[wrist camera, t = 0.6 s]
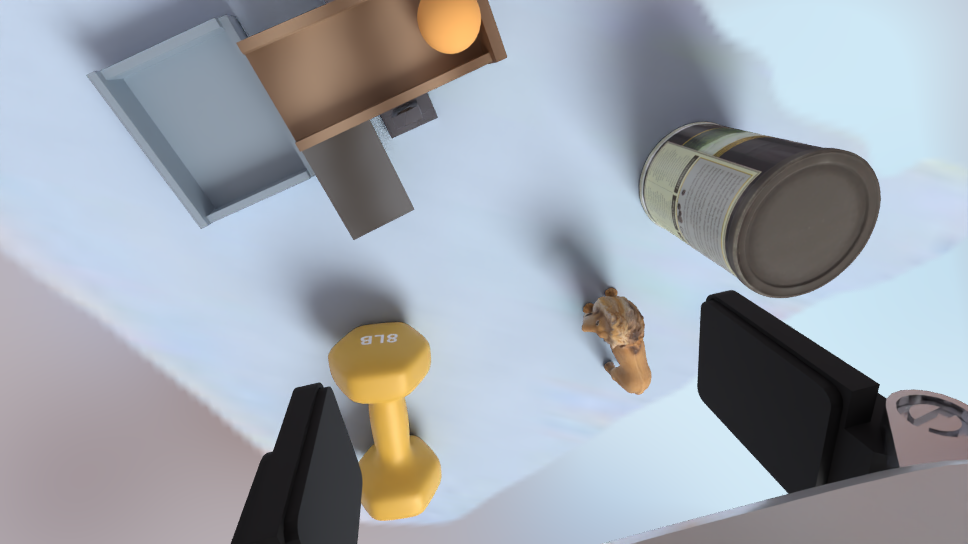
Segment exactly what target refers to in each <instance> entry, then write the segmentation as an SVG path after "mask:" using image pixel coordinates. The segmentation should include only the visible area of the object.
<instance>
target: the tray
mask: <svg viewBox="0 0 968 544" xmlns="http://www.w3.org/2000/svg"><path fill="white" fill-rule="evenodd" d="M246 38H248V37H247V35H246V34H245V32H244V30H243V29H242V27H241V25H240V23H239V22H238V20H237V18H236V17H234V16H230V15H224V16H222V17H220V18H213V19H210V20H208V21H206V22H204V23H202V24H200V25H198V26H195V27H193V28H191V29H189V30H187V31H185V32H183V33H180V34H178V35H176V36H174V37H172V38H170V39H168V40H165V41H163V42H161V43H159V44H157V45H155V46H153V47H150V48H148V49H146V50H144V51H142V52H140V53H137V54H135V55H133V56H131V57H129V58H127V59H125V60H122V61H120V62H118V63H116V64H114V65H112V66H110V67H107V68H105V69H103V70H101V71H94V72H92V73H90V74H88V75H86V76H87V77H88V78H89V80H90V81H91V82H92V84H93V85H94V86H95V88H96V89H97V90H98V92H99V93H100V94H101V96H102V97H103V98H104V100H105V101H106V102H107V104H108V105H109V106H110V108H111V109H112V110H113V112H114V113H115V114H116V116H117V117H118V118H119V120H120V121H121V122H122V124H123V125H124V126H125V128H126V129H127V130H128V132H129V133H130V134H131V136H132V137H133V139H134V140H135V141H136V143H137V144H138V145H139V147H140V148H141V149H142V151H143V152H144V153H145V155H146V156H147V157H148V159H149V160H150V161H151V163H152V164H153V165H154V167H155V168H156V169H157V171H158V172H159V173H160V175H161V176H162V177H163V179H164V180H165V181H166V183H167V184H168V185H169V187H170V188H171V189H172V191H173V192H174V193H175V195H176V196H177V197H178V199H179V200H180V201H181V203H182V204H183V205H184V207H185V208H186V209H187V211H188V212H189V213H190V215H191V216H192V217H193V219H194V220H195V221H196V223H197V224H198V226H199V227H200V228H201V229H202V228H204V227H206V226H208V225H210V224H211V223H213V222H215V221H217V220H219V219H222V218H224V217H226V216H228V215H230V214H233V213H235V212H237V211H239V210H242V209H244V208H246V207H248V206H250V205H253V204H255V203H257V202H259V201H261V200H264V199H266V198H268V197H270V196H273V195H275V194H277V193H279V192H281V191H284V190H286V189H288V188H290V187H293V186H295V185H297V184H299V183H301V182H304V181H306V180H308V179H310V178H311V177H312V176H314V175H315V173H314V172H313V170H312V168H311V166H310V165H309V163H308V161H307V160H306V158H305V156H304V154H303V153H302V151H301V152H300V151H299V149H298V148H297V146H296V144H295V142H296V141H295V139H294V137H293V136H292V134H291V132H290V131H289V129H288V127H287V125H286V124H285V122H284V120H283V119H282V117H281V115H280V114H279V112H278V110H277V108H276V107H275V105H274V103H273V102H272V100H271V98H270V96H269V95H268V93H267V91H266V90H265V88H264V86H263V84H262V83H261V81H260V79H259V78H258V76H257V74H256V73H255V71H254V69H253V67H252V66H251V64H250V62H249V61H248V59H247V57H246V55H244V54H242V52H241V51H240V49H239V47H238V45H237V44H236V43H237V42H239V41H241V40H244V39H246Z"/></svg>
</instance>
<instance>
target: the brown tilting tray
mask: <svg viewBox="0 0 968 544" xmlns="http://www.w3.org/2000/svg"><path fill="white" fill-rule="evenodd" d="M420 1H421V0H334V1H332V2H330V3H327V4H325V5H323V6H320V7H318V8H316V9H313V10H311V11H309V12H306V13H304V14H302V15H299V16H297V17H295V18H292V19H290V20H288V21H285V22H283V23H281V24H279V25H276V26H274V27H272V28H269V29H267V30H265V31H262V32H260V33H258V34H255V35H253V36H251V37H248V38H246V39H244V40H241V41H239V42H237V43H236V44H237V45H238V47H239V49H240V51H241V52H242V54H244V55H246V57H247V59H248V61H249V62H250V64H251V66H252V67H253V69H254V71H255V73H256V74H257V76H258V78H259V79H260V81H261V83H262V84H263V86H264V88H265V90H266V91H267V93H268V95H269V96H270V98H271V100H272V102H273V103H274V105H275V107H276V108H277V110H278V112H279V114H280V115H281V117H282V119H283V120H284V122H285V124H286V125H287V127H288V129H289V131H290V132H291V134H292V136H293V137H294V139H295V141H296V142H295V144H296V146H297V148H298V149H299V151H300V152H301V151H302V153H303V154H304V156H305V158H306V160H307V161H308V163H309V165H310V166H311V168H312V170H313V172H314V173H315V175H316V177H317V178H318V180H319V182H320V183H321V185H322V187H323V189H324V190H325V192H326V194H327V195H328V197H329V199H330V201H331V202H332V204H333V206H334V207H335V209H336V211H337V213H338V214H339V216H340V218H341V219H342V221H343V223H344V224H345V226H346V228H347V230H348V231H349V233H350V235H351V236H352V238H353V240H355V239H357V238H359V237H361V236H363V235H365V234H367V233H369V232H371V231H373V230H375V229H377V228H379V227H381V226H383V225H385V224H387V223H389V222H391V221H393V220H395V219H397V218H399V217H401V216H403V215H404V214H406V213H408V212H410V211H412V210H414V207H413V205H412V203H411V201H410V199H409V197H408V195H407V193H406V191H405V189H404V187H403V185H402V183H401V181H400V179H399V177H398V175H397V173H396V171H395V169H394V167H393V165H392V163H391V161H390V159H389V157H388V155H387V153H386V151H385V149H384V147H383V145H382V143H381V141H380V139H379V137H378V135H377V133H376V131H375V129H374V127H373V125H372V123H371V121H370V119H372V118H374V117H376V116H378V115H380V114H382V113H384V112H386V111H389V110H391V109H393V108H395V107H397V106H399V105H401V104H403V103H406V102H408V101H410V100H412V99H414V98H416V97H418V96H420V95H423V94H425V93H427V92H429V91H431V90H433V89H435V88H437V87H440V86H442V85H444V84H446V83H448V82H450V81H452V80H454V79H457V78H459V77H461V76H463V75H465V74H467V73H469V72H472V71H474V70H476V69H478V68H480V67H482V66H484V65H486V64H490V63H495V62H499V61H501V60H503V59H505V58H507V55H506V52H505V49H504V46H503V43H502V40H501V37H500V34H499V31H498V28H497V26H496V23H495V20H494V17H493V14H492V11H491V8H490V5H489V2H488V0H477V2H478V5H479V8H480V13H481V25H480V30H479V33H478V35H477V37H476V39H475V41H474V42H473V43H472V44H471V45H470V46H469V47H468V48H467V49H465V50H463V51H461V52H459V53H455V54H446V53H442V52H439V51H437V50H435V49H433V48H432V47H431V46H430V45H429V44H428V43H427V42H426V41H425V40H424V38H423V37H422V35H421V33H420V30H419V27H418V21H417V12H418V7H419V3H420Z"/></svg>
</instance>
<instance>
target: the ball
mask: <svg viewBox="0 0 968 544" xmlns="http://www.w3.org/2000/svg"><path fill="white" fill-rule="evenodd" d="M417 21H418V27H419V30H420V33H421V35H422V37H423V38H424V40H425V41H426V42H427V43H428V44H429V45H430V46H431V47H432V48H433V49H435V50H437V51H439V52H442V53H446V54H455V53H459V52H461V51H463V50H465V49H467V48H468V47H469V46H470V45H471V44H472V43H473V42H474V41H475V39H476V37H477V35H478V33H479V30H480V25H481V13H480V8H479V5H478V2H477V0H421V1H420V3H419V7H418V12H417Z"/></svg>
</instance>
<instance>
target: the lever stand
mask: <svg viewBox="0 0 968 544" xmlns="http://www.w3.org/2000/svg"><path fill="white" fill-rule="evenodd" d="M332 1H334V0H325V2H326V4H327V3H330V2H332ZM380 115H381V117H382V119H383V121H384V123H385V125H386V127H387V129H388V131H389V134H390V136H391V138H394V137H396V136H398V135H400V134H403V133H405V132H407V131H409V130H411V129H414V128H416V127H418V126H420V125H422V124H425V123H427V122H429V121H431V120H434V119H436V118H438V117H437V114H436V112H435V110H434V107H433V105H432V103H431V100H430V98H429V96H428V93H425V94H423V95H420V96H418V97H416V98H414V99H412V100H410V101H408V102H406V103H403V104H401V105H399V106H397V107H395V108H393V109H391V110H389V111H386V112H384V113H382V114H380Z"/></svg>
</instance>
